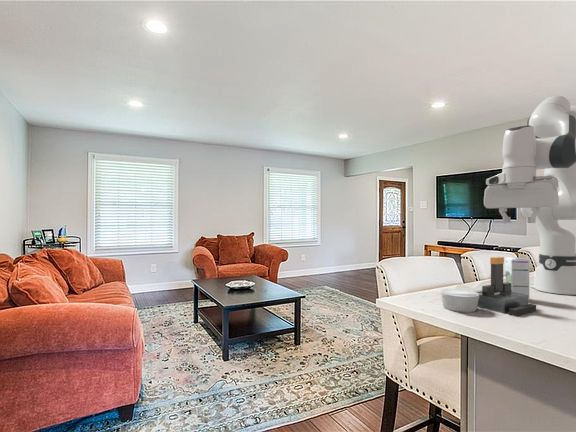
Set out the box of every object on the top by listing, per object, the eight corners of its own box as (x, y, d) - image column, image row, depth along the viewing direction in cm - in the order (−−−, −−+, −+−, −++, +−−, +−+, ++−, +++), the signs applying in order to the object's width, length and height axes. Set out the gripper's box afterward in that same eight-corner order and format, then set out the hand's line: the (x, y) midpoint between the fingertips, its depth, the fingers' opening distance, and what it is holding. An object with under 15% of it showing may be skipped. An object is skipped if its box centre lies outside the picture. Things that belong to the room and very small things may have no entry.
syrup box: (530, 301, 121) (530, 259, 121) (511, 300, 122) (511, 258, 122) (522, 297, 127) (522, 257, 127) (504, 296, 128) (504, 256, 128)
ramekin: (462, 315, 103) (462, 297, 103) (432, 306, 113) (432, 290, 113) (487, 311, 108) (487, 294, 108) (456, 303, 118) (456, 287, 118)
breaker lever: (498, 291, 116) (498, 256, 116) (503, 292, 115) (503, 257, 115) (490, 292, 114) (490, 257, 114) (495, 293, 112) (496, 258, 112)
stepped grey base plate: (490, 299, 123) (490, 279, 123) (528, 307, 113) (528, 285, 113) (466, 304, 116) (466, 283, 116) (504, 313, 105) (504, 290, 105)
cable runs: (469, 296, 128) (469, 291, 128) (537, 310, 109) (537, 304, 109) (446, 300, 121) (446, 295, 121) (515, 316, 102) (515, 310, 102)
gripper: (563, 175, 101) (563, 223, 101) (491, 181, 119) (491, 222, 119) (552, 173, 98) (552, 223, 98) (481, 180, 116) (480, 222, 116)
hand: (518, 222), depth 109 cm, fingers open, 6 cm apart
